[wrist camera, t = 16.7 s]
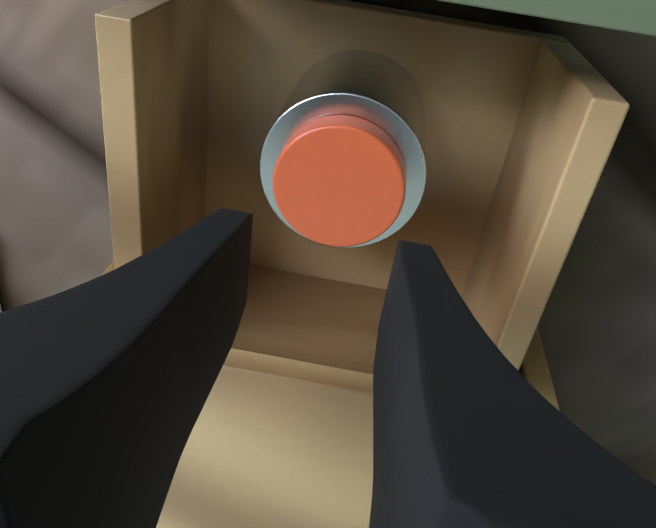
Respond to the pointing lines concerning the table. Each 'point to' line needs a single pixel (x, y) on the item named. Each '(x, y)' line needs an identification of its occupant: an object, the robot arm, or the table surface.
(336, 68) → the small jar with lid
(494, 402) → the robot arm
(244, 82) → the drawer
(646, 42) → the table surface
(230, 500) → the cabinet
